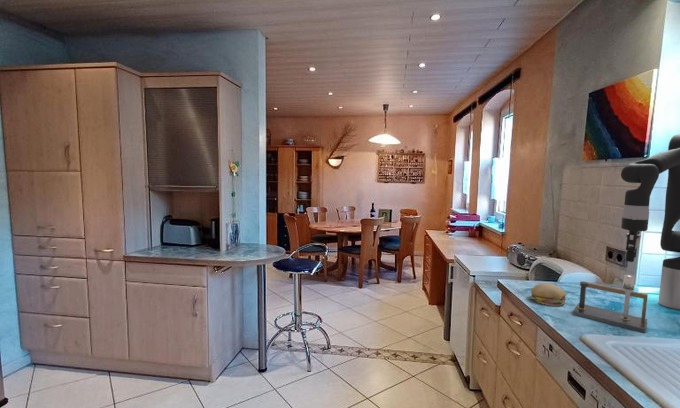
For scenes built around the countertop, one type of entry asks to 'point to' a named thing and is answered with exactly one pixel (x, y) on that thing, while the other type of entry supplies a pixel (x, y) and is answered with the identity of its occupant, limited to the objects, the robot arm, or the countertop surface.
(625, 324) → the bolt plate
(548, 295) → the burger
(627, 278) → the grey elongated rounded piece
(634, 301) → the countertop surface
